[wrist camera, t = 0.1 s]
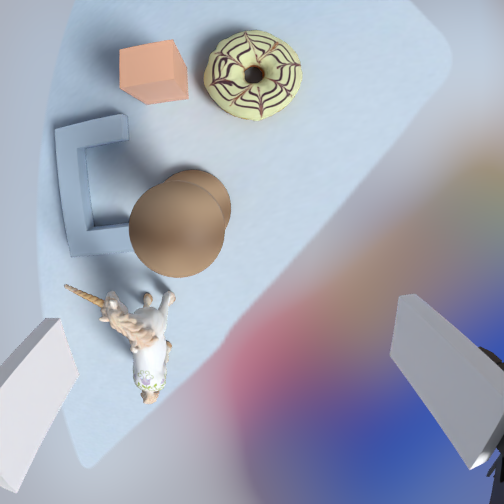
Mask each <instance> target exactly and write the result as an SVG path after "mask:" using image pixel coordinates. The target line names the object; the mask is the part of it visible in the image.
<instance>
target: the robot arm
mask: <svg viewBox="0 0 504 504" xmlns="http://www.w3.org/2000/svg"><path fill="white" fill-rule="evenodd" d="M390 356H391V358H392V359H393V361H394V362H395V363H396V365H397V366H398V367H399V369H400V370H401V372H402V373H403V374H404V376H405V377H406V378H407V380H408V381H409V382H410V384H411V385H412V387H413V388H414V389H415V391H416V392H417V393H418V395H419V396H420V398H421V399H422V401H423V402H424V404H425V405H426V406H427V408H428V409H429V411H430V412H431V413H432V415H433V416H434V418H435V419H436V421H437V422H438V423H439V425H440V426H441V428H442V429H443V431H444V432H445V434H446V435H447V437H448V438H449V439H450V441H451V442H452V444H453V446H454V447H455V449H456V450H457V451H458V453H459V454H460V456H461V458H462V459H463V461H464V462H465V464H466V465H467V467H468V468H469V470H471V469H473V468H475V467H477V466H478V465H480V464H482V463H484V462H486V461H488V459H489V458H490V456H491V455H492V453H493V452H494V450H495V449H496V448H497V449H498V450H499V452H500V453H501V454H500V455H499V457H498V458H497V459H496V461H495V462H494V464H493V466H492V467H491V468H490V469H489V471H488V473H487V476H488V477H489V476H490V475H491V473H492V472H493V471H494V469H495V468H496V470H495V475H494V476H493V477H494V482H493V488H492V494H491V499H490V503H489V504H504V363H502V360H500V359H499V358H498V357H497V356H496V355H495V354H494V353H492V352H490V351H488V350H486V349H484V348H482V347H477V346H476V345H475V344H474V343H472V342H471V341H470V340H469V339H468V338H467V337H465V336H464V335H463V334H462V333H461V332H460V331H459V330H458V329H457V328H455V327H454V326H453V325H452V324H451V323H450V322H448V321H447V320H446V319H445V318H444V317H442V316H441V315H440V314H439V313H438V312H437V311H435V310H434V309H433V308H432V307H431V306H429V305H428V304H427V303H426V302H424V301H423V300H422V299H421V298H420V297H419V296H417V295H416V294H410V295H403V296H399V299H398V308H397V314H396V321H395V327H394V333H393V339H392V345H391V350H390ZM78 377H79V372H78V369H77V367H76V364H75V361H74V359H73V356H72V353H71V350H70V347H69V344H68V341H67V338H66V335H65V332H64V329H63V326H62V323H61V319H60V318H45V319H44V320H43V321H42V322H41V323H40V324H39V325H38V326H37V327H36V328H35V329H34V330H33V332H32V333H31V334H30V335H29V336H28V337H27V338H26V339H25V340H24V341H23V342H22V343H21V344H20V345H19V346H18V347H17V349H15V351H14V352H13V353H12V354H11V355H10V356H9V357H8V358H7V359H6V361H5V362H4V363H3V364H2V365H1V366H0V487H2V488H5V489H7V490H10V491H12V492H15V493H17V492H18V490H19V488H20V486H21V483H22V481H23V479H24V477H25V475H26V473H27V471H28V469H29V467H30V465H31V463H32V461H33V459H34V457H35V455H36V453H37V451H38V449H39V447H40V445H41V443H42V441H43V439H44V437H45V435H46V434H47V432H48V430H49V428H50V426H51V424H52V422H53V420H54V419H55V417H56V415H57V413H58V412H59V410H60V408H61V406H62V404H63V403H64V401H65V399H66V397H67V396H68V394H69V392H70V390H71V389H72V387H73V385H74V384H75V382H76V380H77V378H78Z"/></svg>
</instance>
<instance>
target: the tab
mask: <svg viewBox="0 0 504 504" xmlns="http://www.w3.org/2000/svg"><path fill="white" fill-rule="evenodd" d="M119 72H120V89H121V90H123V91H125V92H127V93H128V94H130V95H132V96H133V97H135V98H137V99H138V100H140V101H142V102H143V103H145V104H146V105H149V104H156V103H162V102H169V101H176V100H184V99H188V79H187V67H186V65H185V63H184V61H183V59H182V57H181V55H180V53H179V51H178V49H177V47H176V45H175V43H174V41H173V39H172V40H166V41H160V42H154V43H149V44H143V45H138V46H133V47H129V48H124V49H120V58H119Z"/></svg>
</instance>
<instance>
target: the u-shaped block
mask: <svg viewBox="0 0 504 504" xmlns="http://www.w3.org/2000/svg"><path fill="white" fill-rule="evenodd" d="M127 140H129V132H128V116H126V115H123V114H117V115H112V116H107V117H102V118H98V119H93V120H89V121H85V122H81V123H77V124H73V125H69V126H65V127H61V128H58V129H55V144H56V158H57V169H58V179H59V188H60V196H61V203H62V210H63V216H64V223H65V229H66V234H67V240H68V245H69V250H70V255H71V257H79V256H90V255H101V254H112V253H123V252H134V249H133V247H132V244H131V242H130V237H129V223H123V224H115V225H106V226H98V227H94V221H93V214H92V207H91V200H90V192H89V183H88V174H87V163H86V152H85V149H86V148H90V147H95V146H100V145H105V144H111V143H116V142H122V141H127Z"/></svg>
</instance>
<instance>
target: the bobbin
mask: <svg viewBox="0 0 504 504" xmlns="http://www.w3.org/2000/svg"><path fill="white" fill-rule="evenodd" d="M230 214H231V203H230V198H229V194H228V192H227V190H226V188H225V187H224V185H223V184H222V183H221V182H220V181H219V180H218V179H217V178H216V177H215V176H213V175H211V174H209V173H207V172H204V171H200V170H186V171H182V172H179V173H176V174H174V175H172V176H171V177H169V178H168V179H167V180H166V181H165V182H164V183H161V184H159V185H156V186H154V187H152V188H151V189H149V190H148V191H146V192H145V193H144V194H143V195H142V196H141V197H140V198H139V199H138V201H137V202H136V204H135V205H134V207H133V210H132V212H131V215H130V220H129V237H130V242H131V244H132V247H133V249H134V251H135V253H136V255H137V256H138V258H139V259H140V260H141V261H142V262H143V263H144V264H145V265H146V266H147V267H148V268H150V269H151V270H153V271H154V272H156V273H158V274H161V275H164V276H168V277H174V278H182V277H188V276H192V275H195V274H197V273H200V272H201V271H203V270H205V269H206V268H207V267H208V266H210V265H211V264H212V263H213V261H214V260H215V259H216V258H217V256H218V254H219V252H220V250H221V248H222V245H223V241H224V234H225V229H226V227H227V225H228V222H229V219H230Z"/></svg>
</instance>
